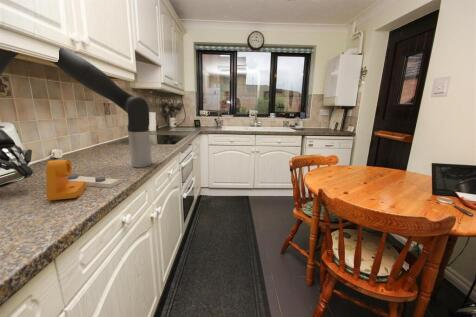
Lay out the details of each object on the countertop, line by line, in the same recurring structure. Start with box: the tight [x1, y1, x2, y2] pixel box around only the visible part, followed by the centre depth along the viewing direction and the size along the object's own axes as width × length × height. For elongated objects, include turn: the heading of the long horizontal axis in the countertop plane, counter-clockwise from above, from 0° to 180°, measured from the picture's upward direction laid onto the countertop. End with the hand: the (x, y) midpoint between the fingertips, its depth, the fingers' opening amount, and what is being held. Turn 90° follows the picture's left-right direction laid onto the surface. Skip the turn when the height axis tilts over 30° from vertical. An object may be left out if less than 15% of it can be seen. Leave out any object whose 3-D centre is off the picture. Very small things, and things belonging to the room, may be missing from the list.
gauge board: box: [67, 174, 121, 189], centre depth 81 cm, size 5×24×2 cm, turn 81°
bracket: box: [45, 159, 87, 201], centre depth 69 cm, size 11×7×12 cm, turn 20°
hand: (29, 175), depth 71 cm, fingers closed
